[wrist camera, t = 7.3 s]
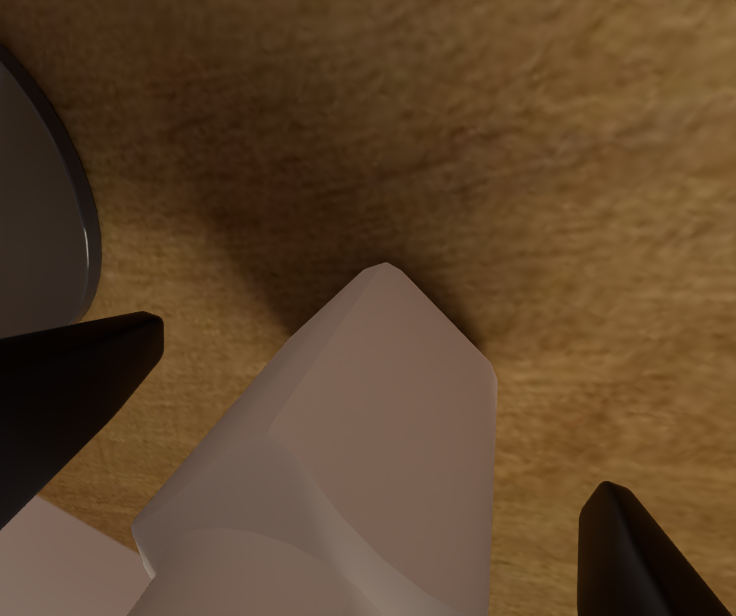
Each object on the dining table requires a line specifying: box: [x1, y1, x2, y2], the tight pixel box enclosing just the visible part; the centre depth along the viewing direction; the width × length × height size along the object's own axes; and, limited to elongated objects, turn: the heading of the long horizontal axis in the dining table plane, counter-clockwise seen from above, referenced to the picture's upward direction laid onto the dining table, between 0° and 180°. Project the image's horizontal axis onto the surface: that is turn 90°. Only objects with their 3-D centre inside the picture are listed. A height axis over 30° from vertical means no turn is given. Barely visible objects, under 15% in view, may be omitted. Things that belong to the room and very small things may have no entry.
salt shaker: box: [127, 262, 497, 616], centre depth 7 cm, size 4×4×10 cm
